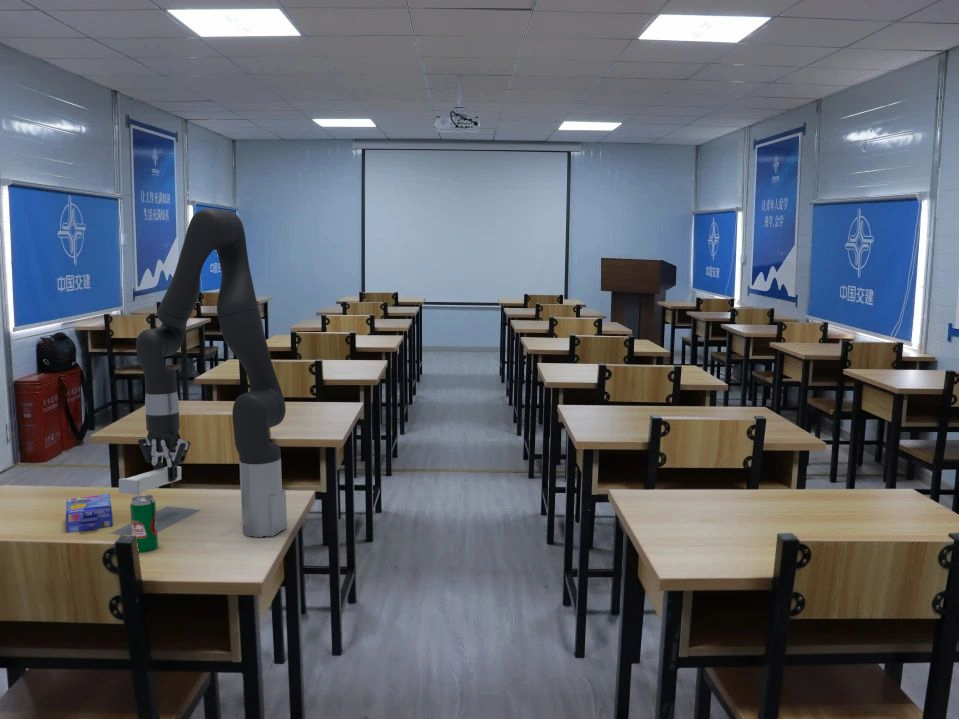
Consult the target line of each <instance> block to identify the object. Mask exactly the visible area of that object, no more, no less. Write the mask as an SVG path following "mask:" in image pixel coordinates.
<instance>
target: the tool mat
mask: <svg viewBox="0 0 959 719" xmlns="http://www.w3.org/2000/svg"><path fill="white" fill-rule="evenodd" d="M200 511H201V509H195V508H187V507H178V506H177V507H176V506H169V505H168V506H167V505H166V506H165V507H162V508H160V509H158V510H156V518H157V533H159V532H161V531H163V530H165V529H167V528H168V527H171V526H173V525H175V524H177V523H179V522H181V521H182V520H185V519H187V518H189V517H190V516H192V515H194V514H196V513H198V512H200ZM109 534H111V535H119V536H125V535H132V523H131V522H130V523H129V524H126V525H125V526H122V527H120V528H118V529H116V530H114V531H112V532H111V531H110V533H109Z"/></svg>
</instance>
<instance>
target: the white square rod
mask: <svg viewBox="0 0 959 719" xmlns="http://www.w3.org/2000/svg"><path fill="white" fill-rule="evenodd" d="M163 467H164V468H161V469H157V470H154V469H153V470H151V471H147V472H143V473H140V474H137V475H132V476H129V477H127V478H123V477H122V478H119V479H118V494H127V495H133V496H134V495H135V496H139V495H141V494H140V493H143V492H146V491H149V490H152V489H155V488H159V487H161V486H164V485H168V484H171V483H174V482H177V481H180V480H182V466H178V465H177V474H178V476H177V478H176V480H175V481H173V482H169V481H168V470H167V467H168V466H163Z"/></svg>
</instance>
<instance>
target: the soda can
mask: <svg viewBox="0 0 959 719" xmlns="http://www.w3.org/2000/svg"><path fill="white" fill-rule="evenodd" d="M129 504H130V505H129V508H130V518H131V522H130V524H131V523H132V535H136V536H137V543H138V549H139V552H138V553H147V552H152V551H155V550H156V549H158V548H159V539H158V538H159V537H158V532H157V518H156V511H157V505H156V504H157V503H156V499H155V498H154V495H152V494H139V495H135V496H133V497H132V498H131V502H130V503H129Z"/></svg>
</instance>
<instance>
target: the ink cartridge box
mask: <svg viewBox="0 0 959 719" xmlns="http://www.w3.org/2000/svg"><path fill="white" fill-rule="evenodd" d="M65 504H66V505H65V509H66V510H65V527H66V528H65V529H66V534H67V533H68V534H70V533H76V532H77V533H78V532H84V531H90V530H97V529H104V528H110V527H111V528H112V527H113V522H114V521H113V507H112V501H111V494H110V493H103V494H94V495H86V496H78V497H69V498H67V499H66V502H65Z"/></svg>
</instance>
